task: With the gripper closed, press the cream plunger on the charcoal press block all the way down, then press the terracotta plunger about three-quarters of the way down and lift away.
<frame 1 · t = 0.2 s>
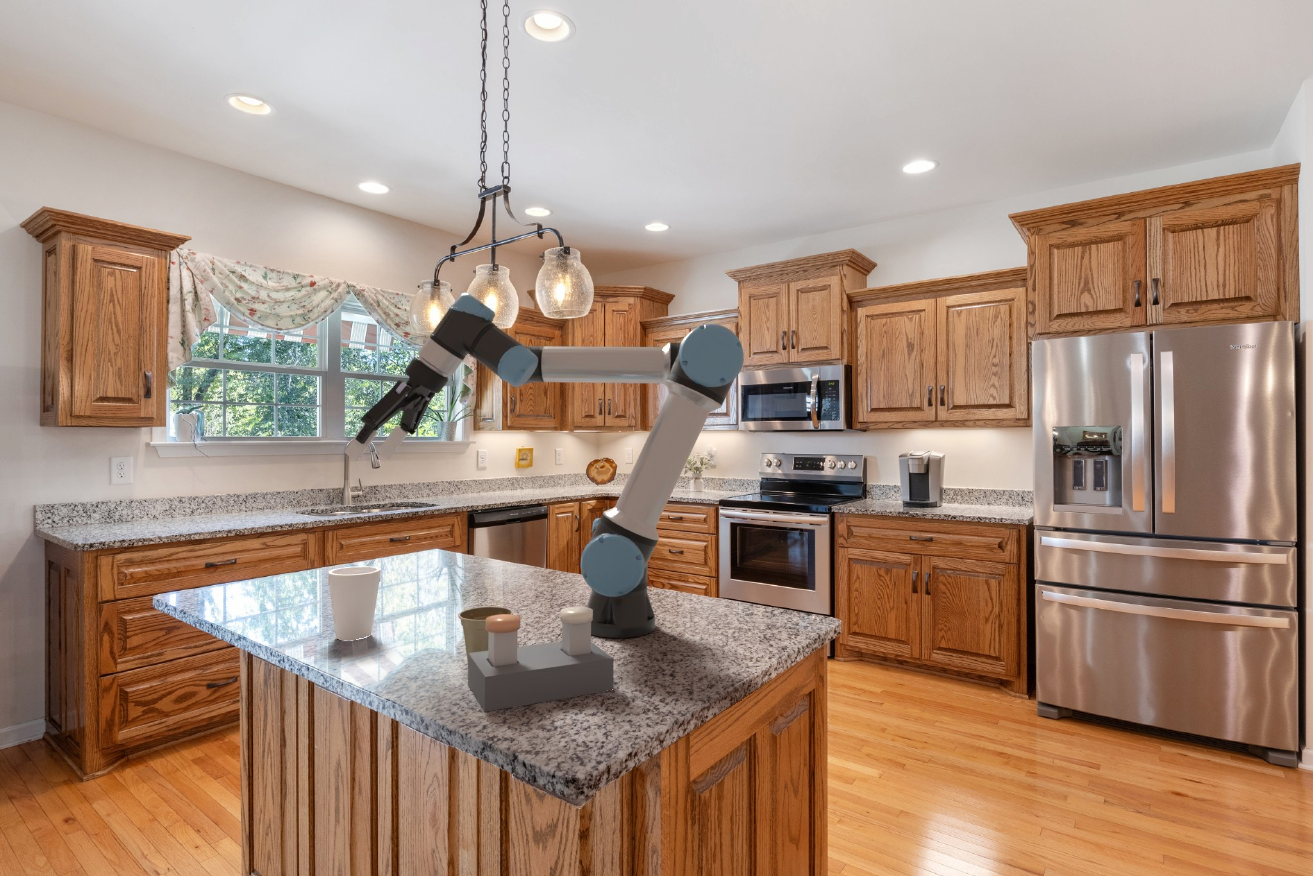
hand: (367, 456, 129), 36 cm above the countertop, tool tilted 35°, fingers open, 13 cm apart
flower pot: (485, 663, 118), on the countertop
cream plunger: (576, 632, 109), point 8 cm above the countertop, slide at 0.0 cm
press block: (539, 687, 106), on the countertop
terracotta plunger: (502, 641, 104), point 8 cm above the countertop, slide at 0.0 cm
foam cup: (353, 637, 133), on the countertop
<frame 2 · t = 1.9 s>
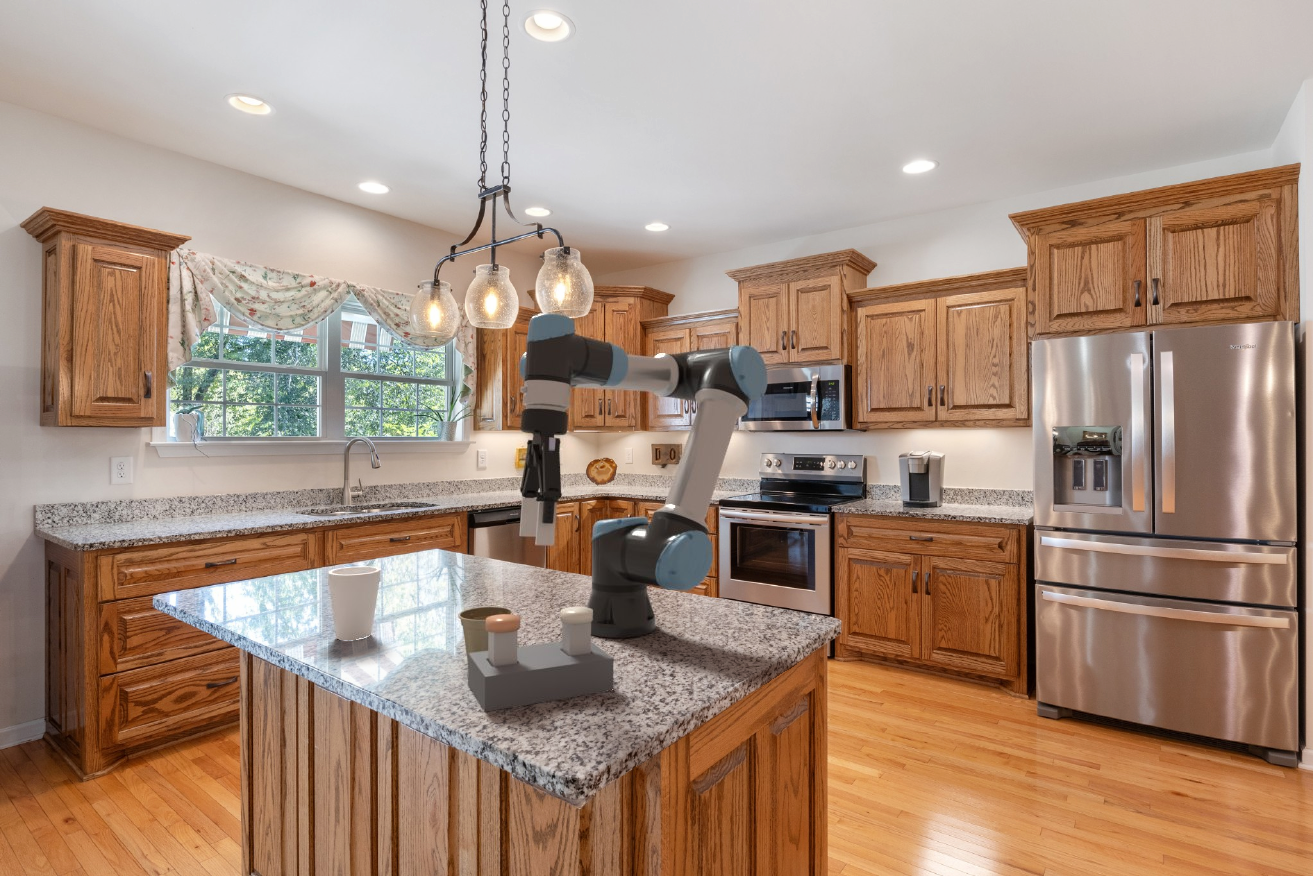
hand: (535, 540, 109), 23 cm above the countertop, tool pointing down, fingers open, 13 cm apart
nothing on the countertop moved.
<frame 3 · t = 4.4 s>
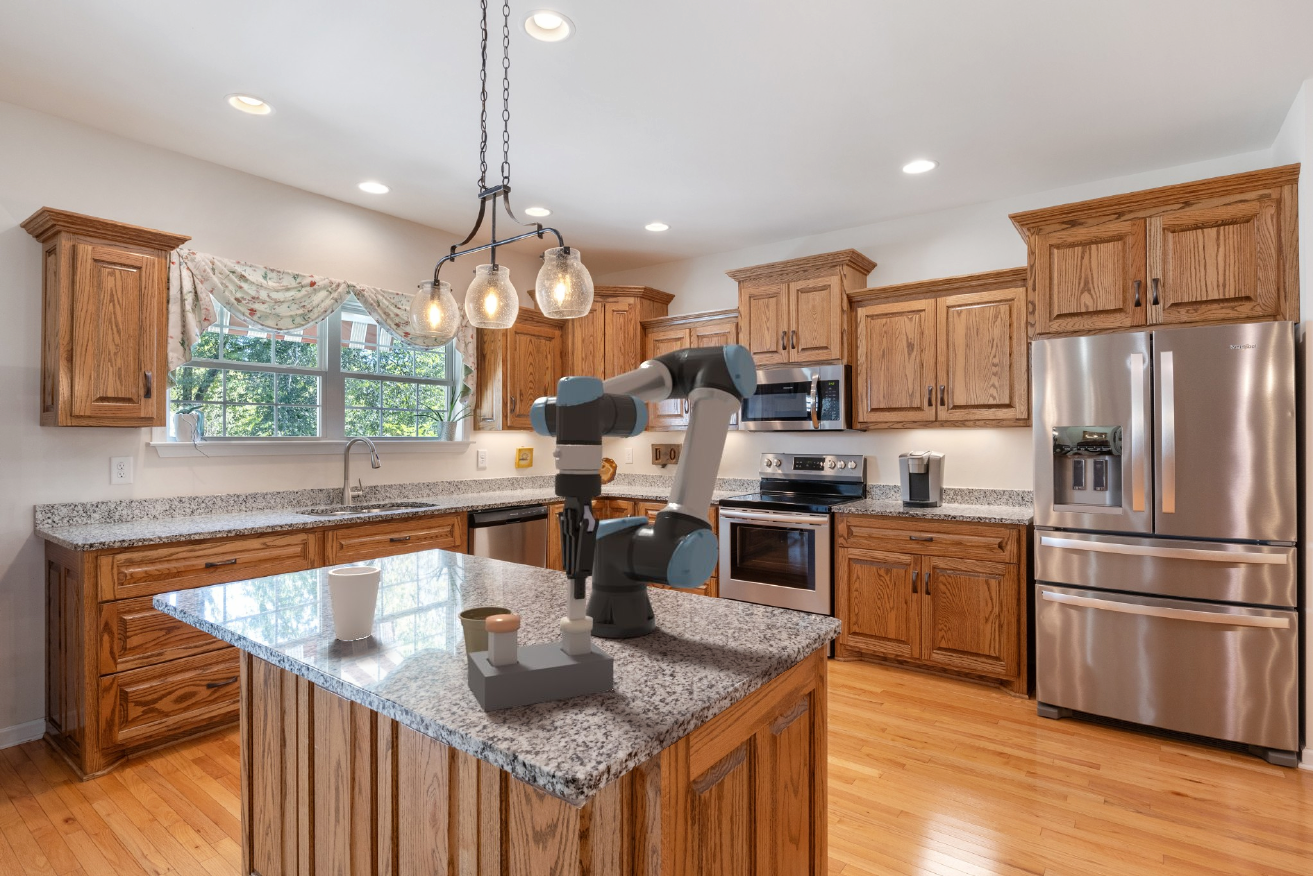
hand: (576, 617, 109), 10 cm above the countertop, tool pointing down, fingers closed
cream plunger: (576, 640, 109), point 7 cm above the countertop, slide at 1.4 cm, touching gripper
everything else where it was.
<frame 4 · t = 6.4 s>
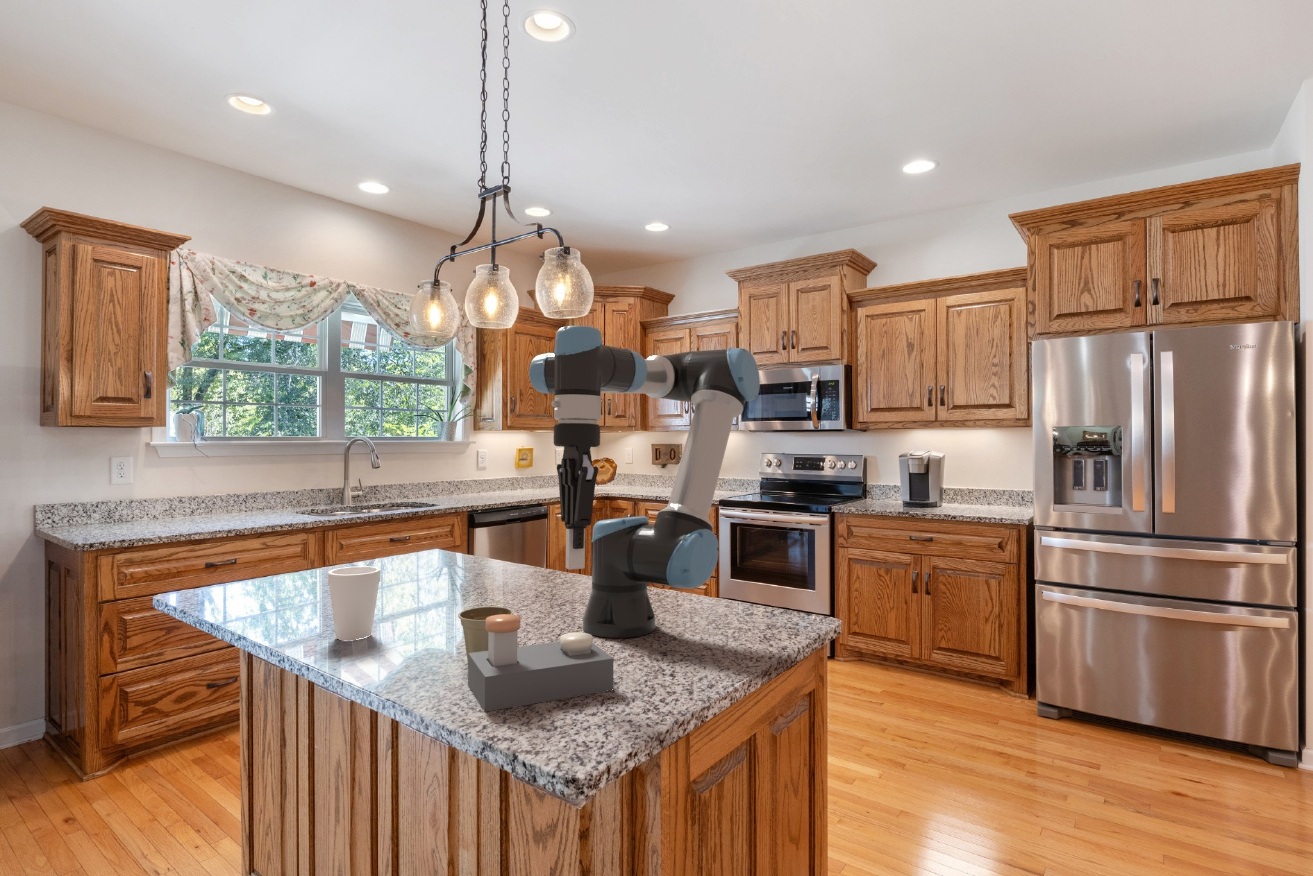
hand: (575, 568, 109), 18 cm above the countertop, tool pointing down, fingers closed
cream plunger: (576, 658, 109), point 4 cm above the countertop, slide at 4.2 cm
everything else where it was.
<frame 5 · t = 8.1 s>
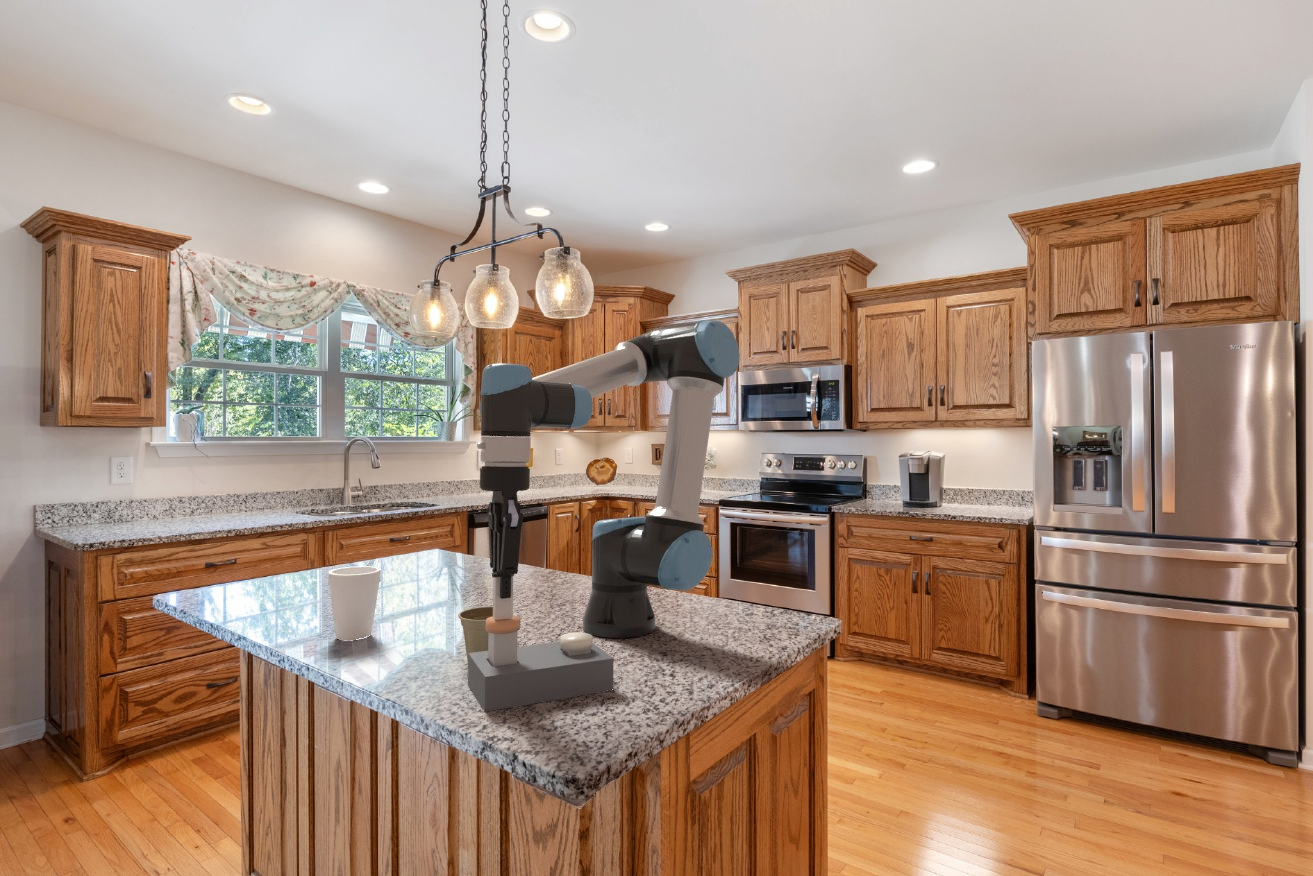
hand: (502, 617, 104), 12 cm above the countertop, tool pointing down, fingers closed
terracotta plunger: (502, 641, 104), point 8 cm above the countertop, slide at 0.1 cm, touching gripper
everything else where it was.
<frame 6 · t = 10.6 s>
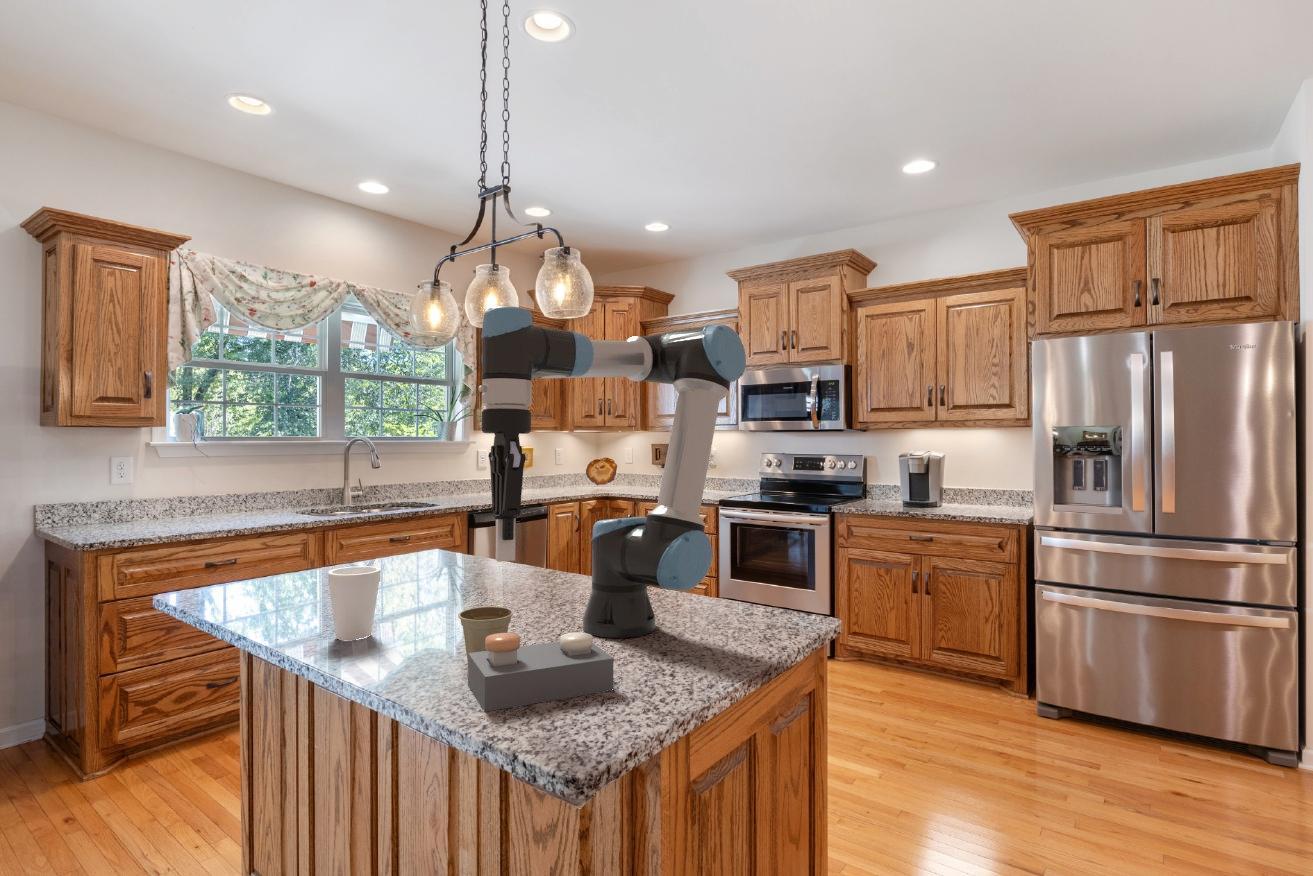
hand: (505, 560, 104), 20 cm above the countertop, tool pointing down, fingers closed
terracotta plunger: (502, 660, 104), point 5 cm above the countertop, slide at 2.9 cm
everything else where it was.
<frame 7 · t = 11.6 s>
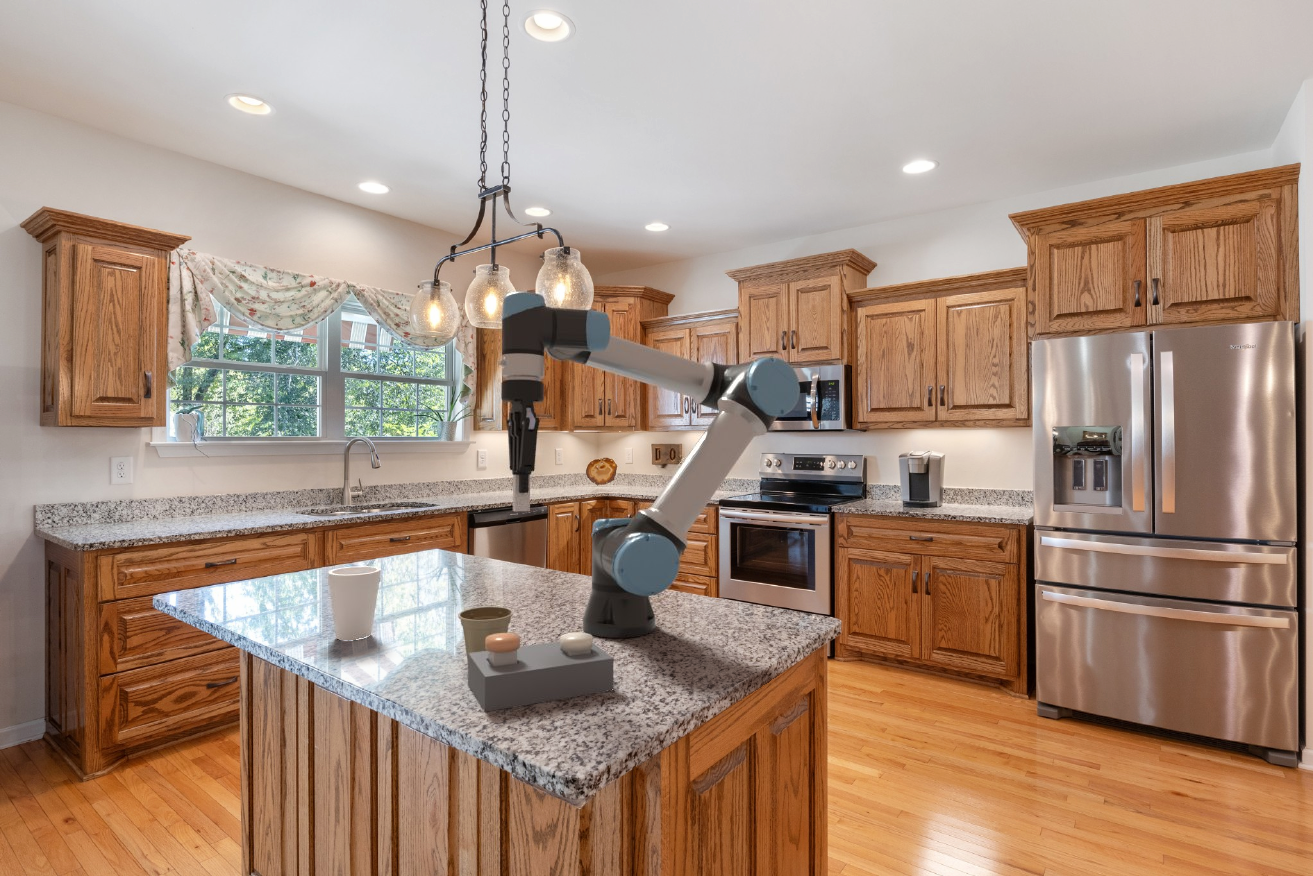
hand: (521, 510, 121), 26 cm above the countertop, tool pointing down, fingers closed
nothing on the countertop moved.
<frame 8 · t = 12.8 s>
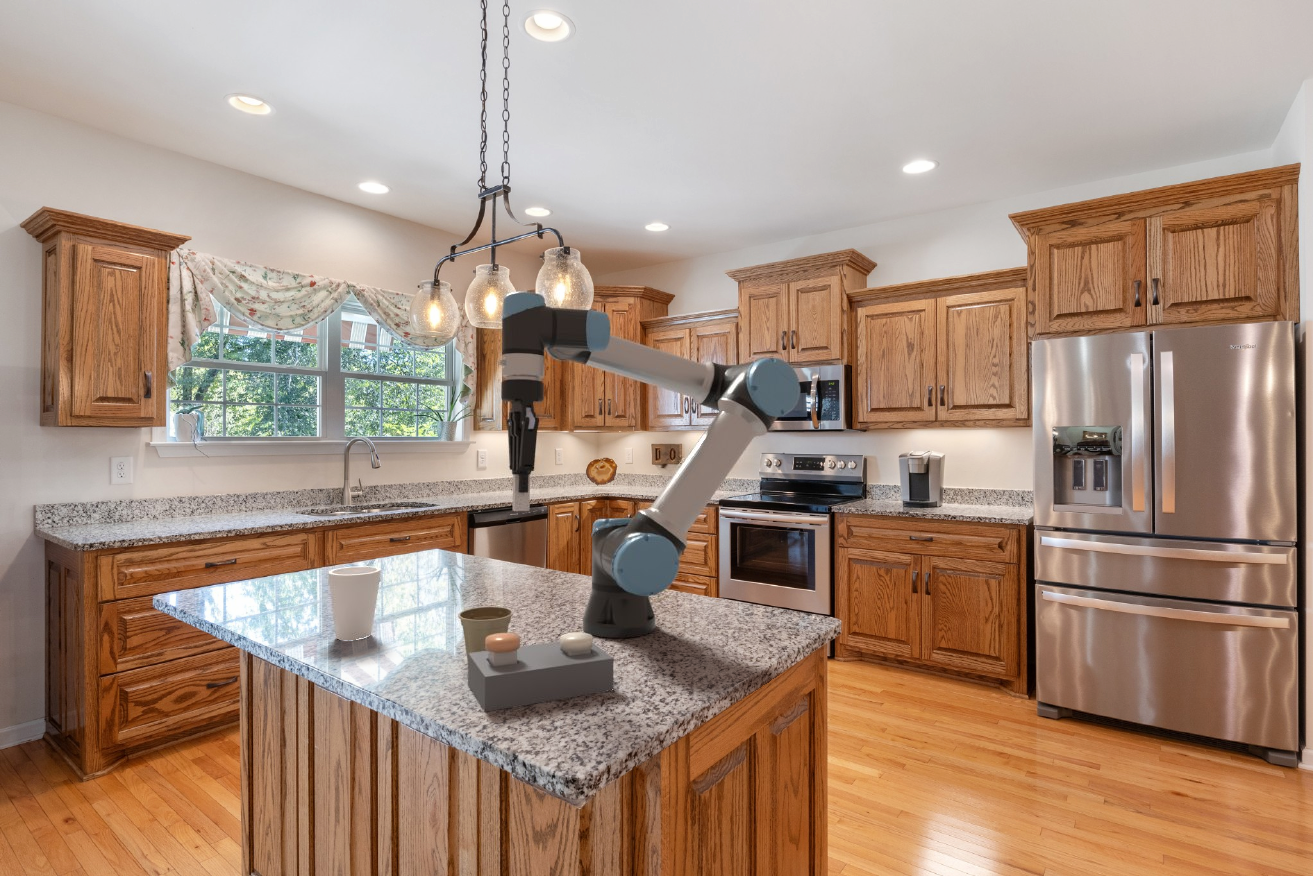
hand: (521, 510, 121), 26 cm above the countertop, tool pointing down, fingers closed
nothing on the countertop moved.
at the end: cream plunger slide at 4.2 cm; terracotta plunger slide at 2.9 cm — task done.
